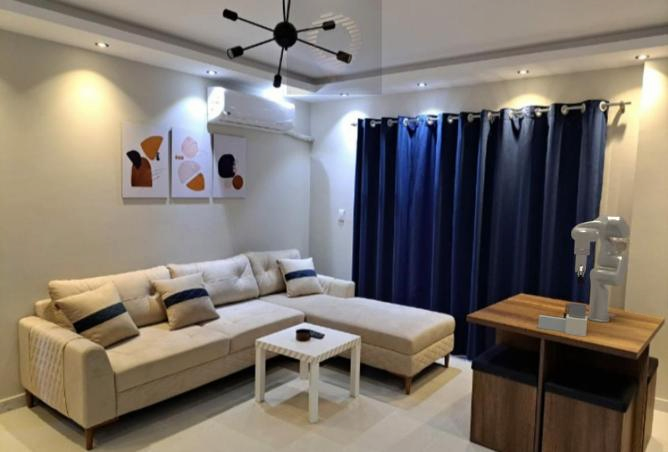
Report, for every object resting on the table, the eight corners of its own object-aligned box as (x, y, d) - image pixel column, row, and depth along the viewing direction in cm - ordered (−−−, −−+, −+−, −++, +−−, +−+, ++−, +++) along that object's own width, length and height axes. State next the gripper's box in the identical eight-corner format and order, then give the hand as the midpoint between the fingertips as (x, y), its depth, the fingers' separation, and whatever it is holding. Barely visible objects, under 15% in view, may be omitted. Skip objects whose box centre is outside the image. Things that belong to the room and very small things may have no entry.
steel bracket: (568, 321, 267) (569, 302, 266) (584, 323, 263) (586, 304, 262) (568, 322, 264) (569, 303, 263) (584, 325, 260) (586, 305, 259)
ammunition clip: (563, 320, 287) (564, 301, 286) (565, 320, 288) (566, 301, 287) (575, 326, 277) (577, 305, 276) (578, 326, 277) (580, 305, 276)
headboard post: (539, 325, 277) (540, 310, 276) (585, 332, 265) (587, 316, 265) (537, 329, 269) (538, 313, 268) (585, 336, 257) (586, 320, 257)
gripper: (574, 248, 275) (573, 278, 277) (574, 253, 260) (572, 284, 262) (589, 249, 272) (587, 279, 274) (589, 254, 257) (588, 285, 259)
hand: (580, 281), depth 268 cm, fingers open, 9 cm apart
